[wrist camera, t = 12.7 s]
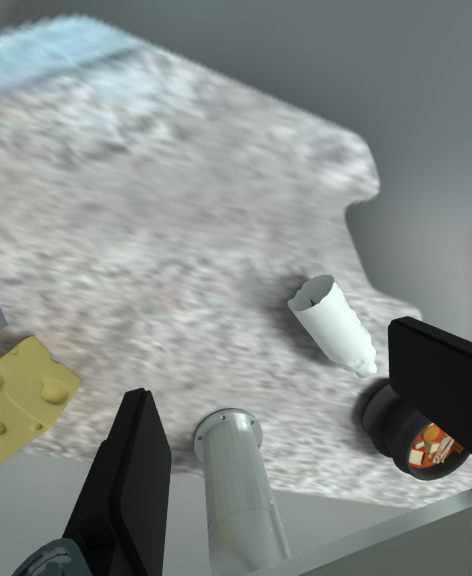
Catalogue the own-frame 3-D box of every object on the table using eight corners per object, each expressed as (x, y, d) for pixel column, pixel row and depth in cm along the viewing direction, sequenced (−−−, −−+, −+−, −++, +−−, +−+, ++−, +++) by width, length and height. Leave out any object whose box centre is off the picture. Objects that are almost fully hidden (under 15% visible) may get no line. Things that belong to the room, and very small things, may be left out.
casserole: (466, 401, 55) (513, 430, 47) (415, 465, 57) (452, 504, 49) (392, 354, 49) (431, 379, 41) (337, 429, 51) (364, 467, 43)
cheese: (33, 332, 36) (-23, 370, 27) (88, 381, 39) (55, 431, 30) (-25, 374, 36) (-103, 427, 27) (34, 420, 39) (-16, 482, 30)
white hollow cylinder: (335, 371, 47) (362, 399, 40) (279, 299, 42) (299, 316, 34) (368, 345, 47) (402, 368, 40) (317, 269, 42) (345, 279, 34)
